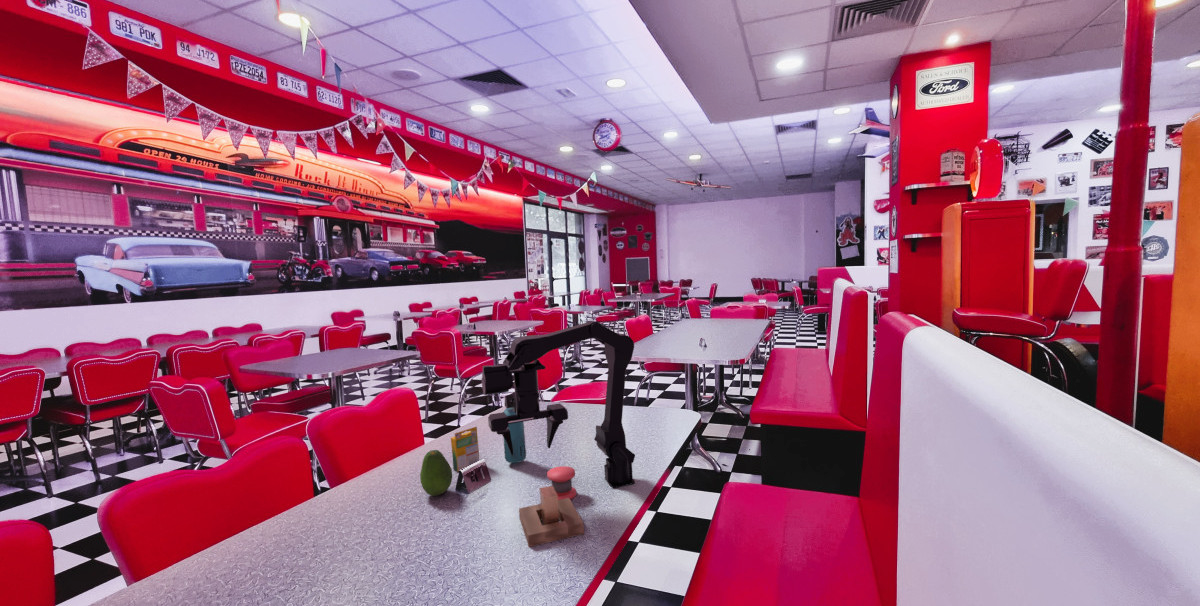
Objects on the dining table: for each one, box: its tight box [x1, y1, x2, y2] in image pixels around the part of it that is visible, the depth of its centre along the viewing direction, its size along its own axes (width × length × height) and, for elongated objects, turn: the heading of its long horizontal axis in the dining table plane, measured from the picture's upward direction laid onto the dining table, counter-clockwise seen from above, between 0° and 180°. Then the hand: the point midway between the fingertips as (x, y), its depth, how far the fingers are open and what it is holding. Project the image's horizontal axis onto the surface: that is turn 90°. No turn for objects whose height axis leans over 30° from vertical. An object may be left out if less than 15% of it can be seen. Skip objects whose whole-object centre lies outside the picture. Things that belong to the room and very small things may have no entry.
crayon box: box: [450, 426, 480, 473], centre depth 141 cm, size 7×3×12 cm, turn 134°
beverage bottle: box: [502, 396, 527, 464], centre depth 141 cm, size 6×7×20 cm
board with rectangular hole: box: [518, 498, 585, 548], centre depth 106 cm, size 12×12×2 cm
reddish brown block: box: [539, 485, 560, 526], centre depth 106 cm, size 3×5×8 cm, turn 18°
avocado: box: [419, 449, 453, 497], centre depth 124 cm, size 8×8×12 cm
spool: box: [546, 465, 577, 501], centre depth 120 cm, size 7×7×6 cm
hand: (530, 451), depth 117 cm, fingers open, 9 cm apart
